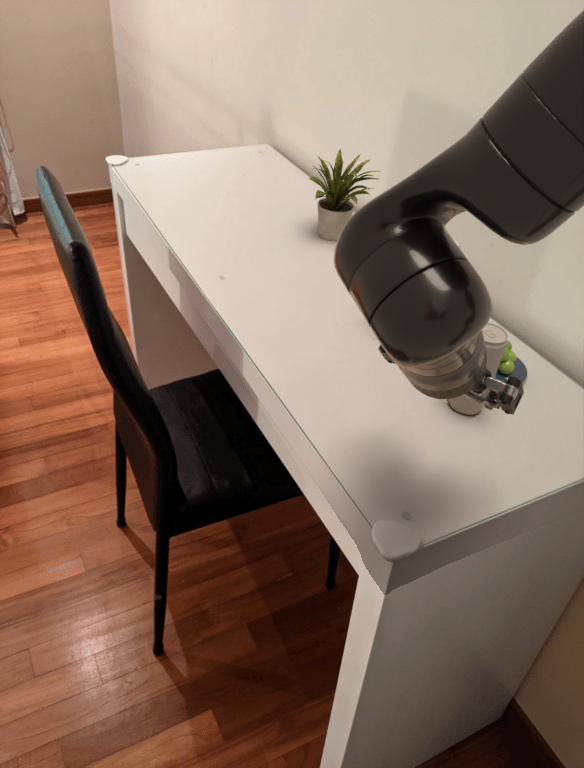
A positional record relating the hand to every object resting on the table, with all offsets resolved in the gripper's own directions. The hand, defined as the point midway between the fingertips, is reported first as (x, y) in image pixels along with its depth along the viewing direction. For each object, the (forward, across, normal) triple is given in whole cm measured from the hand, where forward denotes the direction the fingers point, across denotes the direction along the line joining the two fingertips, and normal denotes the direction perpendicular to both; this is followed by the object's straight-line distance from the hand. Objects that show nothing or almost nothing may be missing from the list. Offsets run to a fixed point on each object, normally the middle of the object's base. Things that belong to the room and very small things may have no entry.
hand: (455, 384), depth 68 cm
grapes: (+24, 0, -8) cm, 25 cm away
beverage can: (+16, 0, 0) cm, 17 cm away
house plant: (+38, +40, -22) cm, 60 cm away
